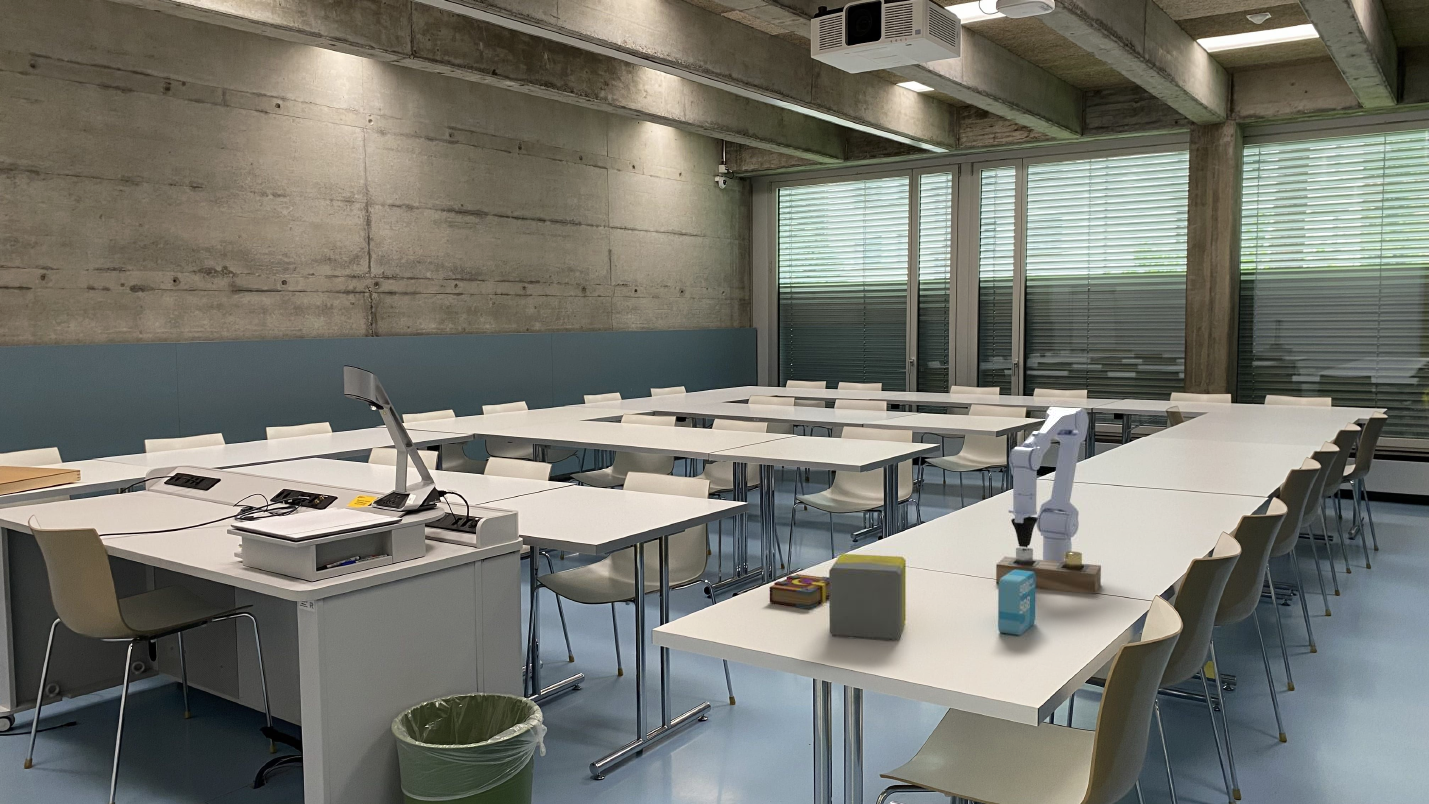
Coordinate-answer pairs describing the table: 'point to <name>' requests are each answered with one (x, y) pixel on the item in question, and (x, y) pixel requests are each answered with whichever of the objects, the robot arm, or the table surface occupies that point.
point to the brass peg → (1073, 560)
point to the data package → (1016, 602)
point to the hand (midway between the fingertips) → (1024, 545)
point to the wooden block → (1055, 575)
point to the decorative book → (800, 591)
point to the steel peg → (1024, 555)
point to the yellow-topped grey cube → (867, 596)
